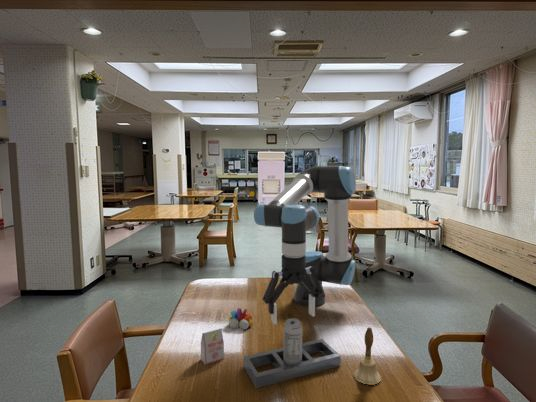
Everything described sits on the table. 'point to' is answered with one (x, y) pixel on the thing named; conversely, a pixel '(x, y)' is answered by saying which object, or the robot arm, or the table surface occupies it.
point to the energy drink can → (292, 341)
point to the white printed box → (212, 346)
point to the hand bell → (367, 363)
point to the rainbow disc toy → (240, 319)
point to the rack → (291, 370)
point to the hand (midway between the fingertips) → (293, 318)
